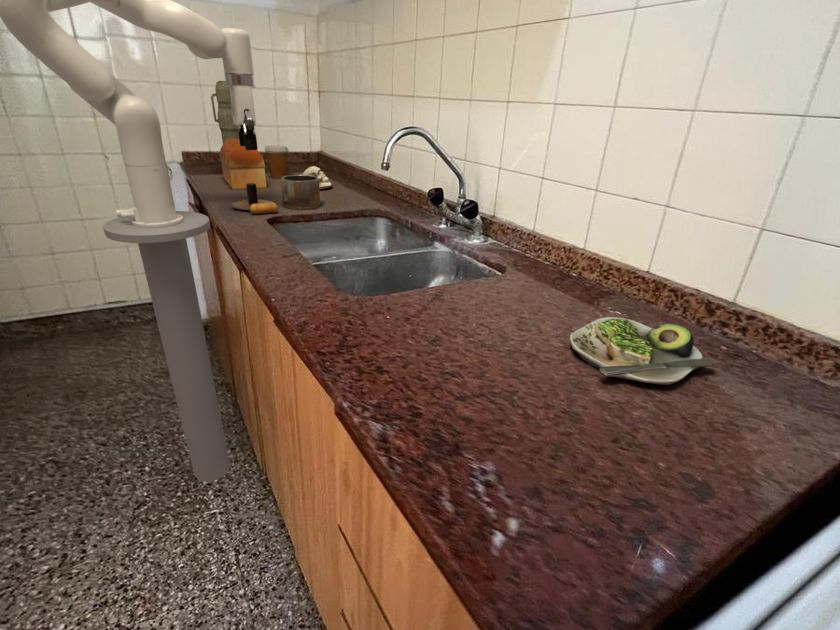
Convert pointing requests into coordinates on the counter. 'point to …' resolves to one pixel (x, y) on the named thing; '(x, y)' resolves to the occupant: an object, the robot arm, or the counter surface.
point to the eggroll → (263, 208)
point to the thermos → (224, 112)
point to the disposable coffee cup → (277, 160)
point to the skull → (317, 173)
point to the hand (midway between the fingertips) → (248, 147)
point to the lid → (249, 198)
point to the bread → (242, 165)
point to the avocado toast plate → (638, 350)
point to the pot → (300, 191)
